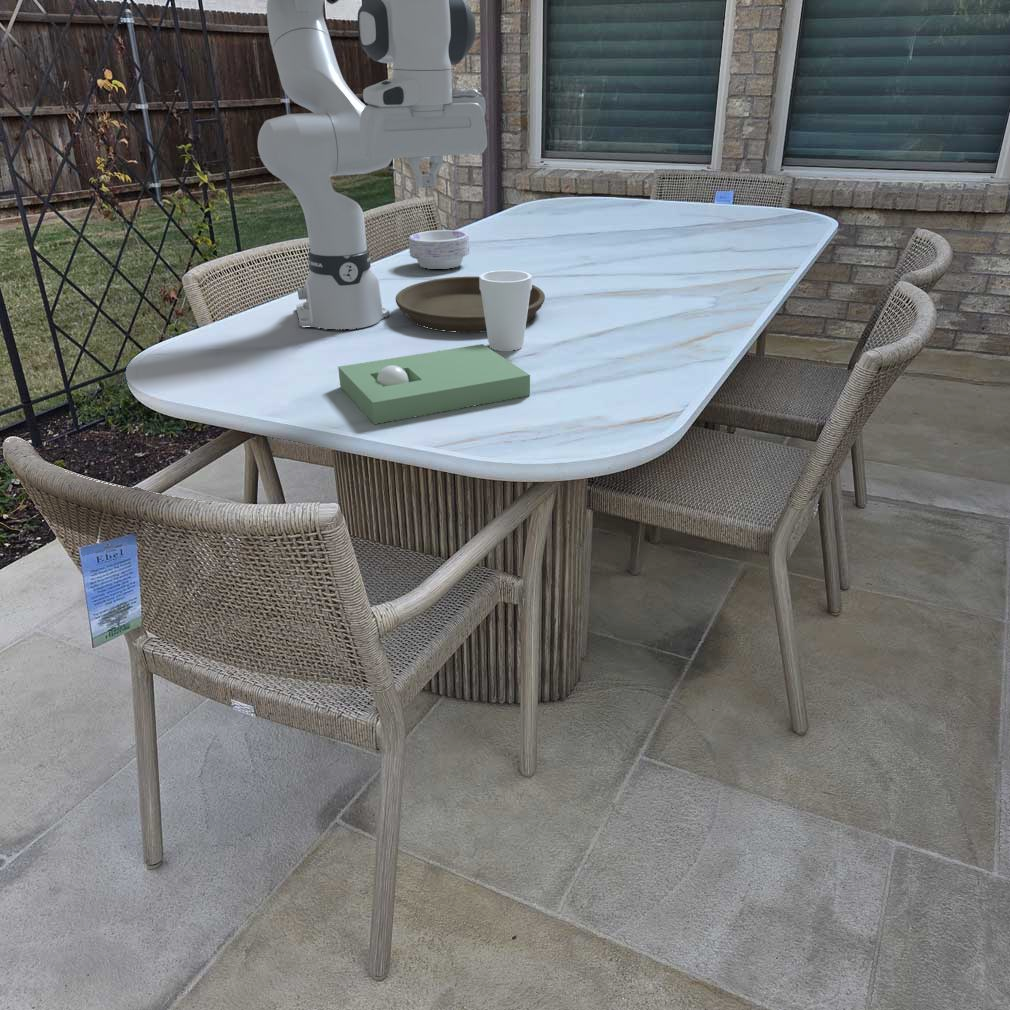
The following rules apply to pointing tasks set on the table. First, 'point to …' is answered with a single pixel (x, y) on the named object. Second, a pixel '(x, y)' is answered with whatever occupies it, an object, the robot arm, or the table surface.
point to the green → (434, 383)
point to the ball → (392, 376)
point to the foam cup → (505, 307)
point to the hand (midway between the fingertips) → (426, 186)
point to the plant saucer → (452, 304)
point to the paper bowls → (439, 248)
